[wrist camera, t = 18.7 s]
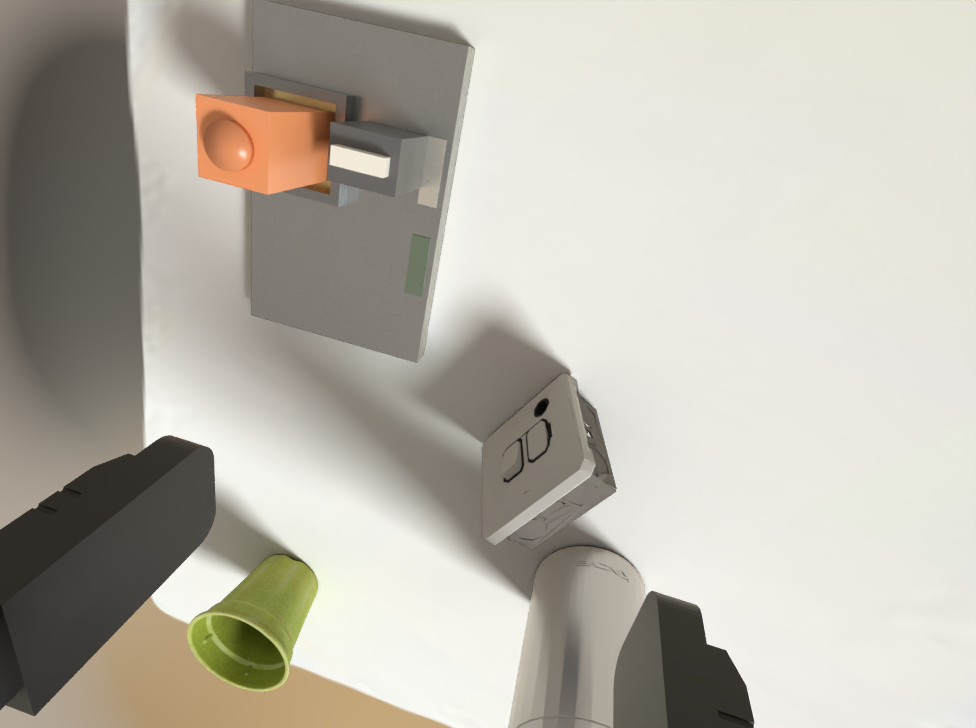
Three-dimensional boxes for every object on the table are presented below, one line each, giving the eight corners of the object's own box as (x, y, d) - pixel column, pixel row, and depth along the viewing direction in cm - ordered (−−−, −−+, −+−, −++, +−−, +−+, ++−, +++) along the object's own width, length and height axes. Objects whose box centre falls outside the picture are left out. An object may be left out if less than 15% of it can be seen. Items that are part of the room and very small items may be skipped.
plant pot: (299, 529, 51) (242, 603, 43) (352, 602, 53) (307, 684, 46) (230, 551, 54) (166, 624, 47) (283, 618, 57) (231, 698, 49)
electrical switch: (567, 365, 38) (564, 445, 30) (618, 410, 39) (629, 499, 31) (481, 440, 42) (459, 528, 34) (530, 478, 44) (519, 572, 36)
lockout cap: (330, 179, 35) (261, 196, 28) (272, 165, 35) (190, 177, 28) (335, 112, 33) (262, 112, 26) (274, 97, 33) (187, 93, 26)
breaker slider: (421, 187, 34) (389, 199, 29) (360, 172, 34) (319, 181, 29) (428, 136, 32) (396, 140, 28) (365, 120, 33) (323, 122, 28)
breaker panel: (423, 354, 40) (411, 369, 38) (262, 308, 42) (241, 320, 39) (475, 49, 31) (463, 43, 29) (267, 2, 33) (240, -7, 30)
